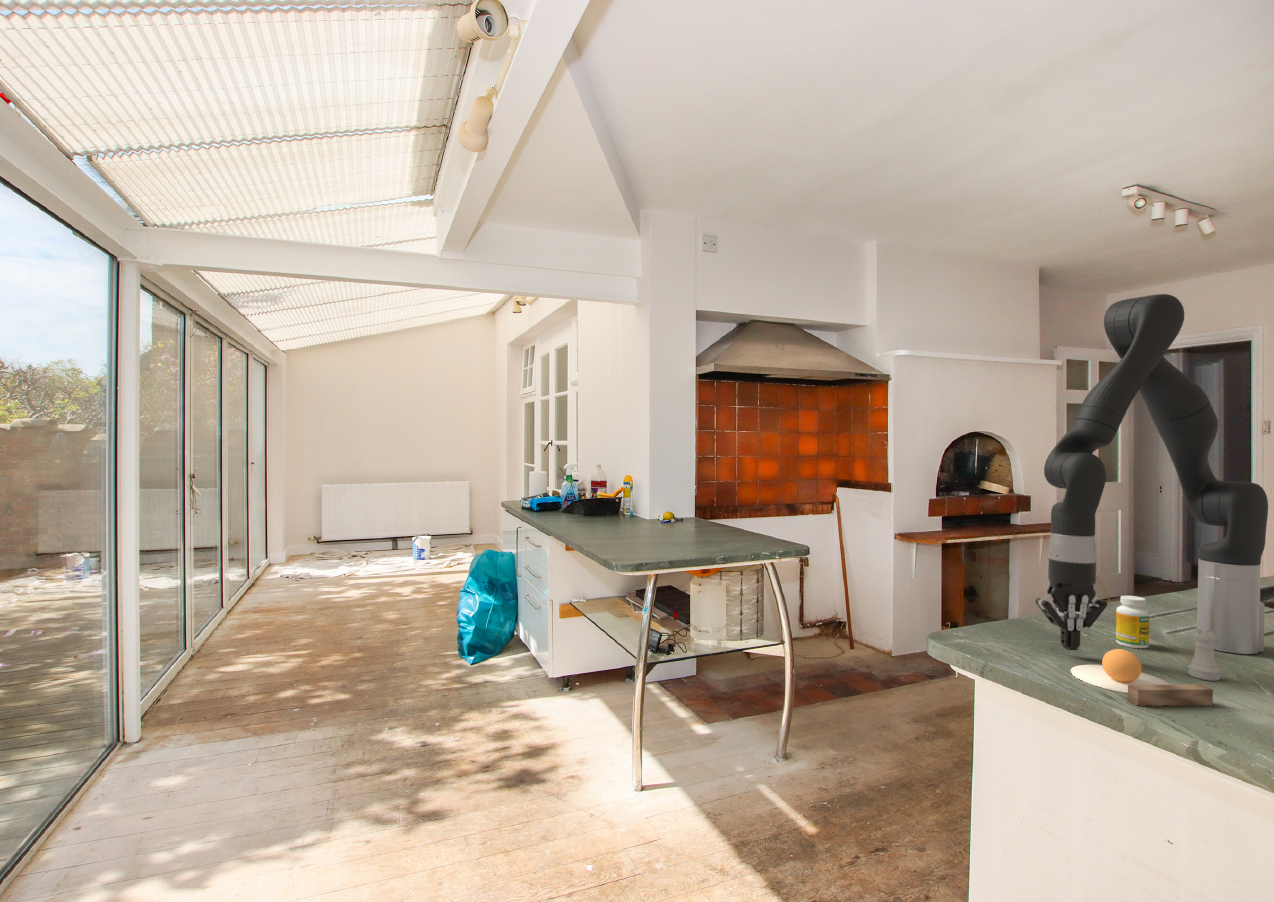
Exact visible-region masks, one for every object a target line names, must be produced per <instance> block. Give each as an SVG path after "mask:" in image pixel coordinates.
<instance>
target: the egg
mask: <svg viewBox="0 0 1274 902" xmlns="http://www.w3.org/2000/svg"><path fill="white" fill-rule="evenodd" d="M1101 665H1102V666H1103V669H1104V671H1105V672H1106V673H1107V675H1108V676H1109V677H1111V678H1112V679H1114V680H1116V681H1119V682H1132V681H1134V680H1136V679H1137V678H1138V677H1139V676H1140V674H1141V672H1142V664H1141V661H1140V660H1139V658H1138V656H1136V655H1135V654H1133V652H1132V651H1129V650H1125V649H1122V648H1114V649H1110V650H1109V651H1107V652H1106V653H1105V654H1104V655H1103V657H1102V663H1101Z"/></svg>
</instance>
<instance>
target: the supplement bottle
mask: <svg viewBox="0 0 1274 902" xmlns="http://www.w3.org/2000/svg"><path fill="white" fill-rule="evenodd" d="M1146 600H1147V599H1146V598H1145V597H1141V596H1136V595H1120V600H1119V602H1120V604H1121V605H1120V606H1117V607H1116V613H1115V614H1116V615H1115V616H1116V617H1115V622H1116V623H1115V629H1116V630H1115V642H1116V643H1117V644H1118V645H1120V646H1122V645H1123V646H1122V647H1126V648H1132V649H1138V648H1139V650H1142V648H1143V649H1147V648H1148V647H1149V646H1150V612H1149V610H1148V609H1147V608H1145V606H1146V603H1147V602H1146Z"/></svg>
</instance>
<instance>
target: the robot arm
mask: <svg viewBox="0 0 1274 902" xmlns="http://www.w3.org/2000/svg"><path fill="white" fill-rule="evenodd" d="M1184 322H1185V310H1184V306H1183V303H1182V302H1181V301H1180V299H1178V298H1177V297H1176V296H1174V295H1172V294H1168V293H1160V294H1159V293H1157V294H1151V295H1146V296H1145V295H1143V296H1138V297H1132V298H1131V297H1130V298H1126V299H1122V300H1119V301H1116V302H1114V303H1112V304H1111V305H1110V306H1109V307H1108V308H1107V310H1106V312H1105V313H1104V317H1103V326H1104V331H1105V334H1106V337H1107V340H1108V341H1109V343H1110V344H1111V346H1112V348H1113V349H1114V351H1115V352H1116V354H1117V355H1118V357H1119V358H1120V360H1119V361H1118V363H1117V364H1116V365H1115V366H1114V367H1113V368H1112V369H1111V370H1110V371H1109V372H1108V373H1106V375H1105V376H1103V378H1102V379H1101V380H1100V381H1098V383H1096V384H1095V385H1094V386H1093V387H1092V388H1091V390H1090V391H1089V392H1088V394H1087V395H1086V397H1085V398H1084V399H1083V401H1082V403H1081V405H1080V408H1079V410H1077V414H1076V416H1075V417H1074V420H1073V422H1072V425H1071V427H1069V429H1068V431H1067V432H1066V433H1064V435H1063V436H1062V437H1061V439H1060V440H1059V441H1058V442H1057V444H1056V445H1055V446H1054V447H1053V449H1051V451H1050V453H1049V454H1048V456H1047V458H1046V460H1045V463H1044V468H1043V473H1044V478H1045V480H1046V481H1047V483H1048V484H1049V485H1051V486H1053V487H1055V488H1057V489H1058V488H1059V489H1062V490H1063V489H1064V490H1065V494H1064V497H1063V500H1062V501H1059V502H1056V503H1055V504H1053V505H1052V508H1051V510H1050V511H1051V512H1050V536H1049V541H1048V573H1047V574H1048V575H1047V577H1048V581H1049V586H1048V588H1047V591H1046V593H1047V594H1046V595H1045V596H1043V597H1042V598H1040V597H1037V598H1036V599H1035V604H1036V606H1038V608H1039V609H1040V610H1041V612H1042V614H1043V615H1044V616H1045V617H1046V618H1047V620H1048V621H1049V623H1050V624H1052V625H1054V626H1057V627H1058V628H1059V629H1060V644H1061V646H1062V647H1063V649H1065V650H1067V651H1078V650H1079V647H1081V632H1082V630H1083V629H1084V628H1091V627H1092V626H1093V625H1094V623H1095V622H1096V621H1097V619H1099V617H1100V616H1101V614H1102V613H1103V612H1104V611H1105V609H1107V606H1108V602H1107V601H1105V600H1102V599H1101V598H1099V597H1098V596H1097V594H1096V593H1097V592H1096V590H1095V587H1094V586H1095V585H1096V583H1097V543H1096V513H1097V510H1098V507H1099V506H1100V505H1099V504H1100V503H1101V498H1102V497H1103V492H1104V489H1105V486H1106V481H1107V473H1106V472H1107V471H1106V468H1105V464H1104V462H1103V461H1102V459H1100V458H1099V457H1098V456H1097V455H1095V454H1094V453H1095V451H1097V450H1098V449H1101V448H1105V447H1107V446H1108V445H1110V444H1111V443H1112V442H1113V440H1114V438H1115V437H1116V434H1117V433H1118V430H1119V428H1120V426H1121V424H1122V423H1123V420H1124V418H1125V415H1126V414H1127V411H1128V409H1129V407H1130V406H1131V404H1132V402H1133V400H1134V398H1135V397H1136V395H1137V393H1138V392H1139V394H1140V395H1141V397H1142V399H1143V401H1144V403H1145V406H1146V407H1147V410H1148V413H1149V415H1150V418H1151V420H1152V422H1153V424H1154V427H1156V430H1157V432H1158V434H1159V435H1160V438H1161V439H1162V441H1163V444H1164V445H1165V448H1166V450H1167V452H1168V455H1169V457H1170V459H1171V462H1172V464H1173V466H1174V469H1175V471H1176V473H1177V478H1178V480H1179V484H1180V486H1181V489H1182V493H1183V496H1184V500H1185V502H1186V505H1187V507H1188V509H1189V511H1190V514H1191V515H1192V516H1193V518H1194V519H1195V520H1196V521H1198V522H1199V523H1202V524H1204V525H1208V526H1214V527H1224V528H1227V532H1226V535H1225V537H1224V538H1222V539H1220V540H1218V541H1214V542H1213V541H1212V542H1208V543H1203V544H1201V545H1200V546H1199V548H1198V562H1197V563H1198V567H1197V570H1198V571H1197V575H1198V576H1197V609H1196V611H1197V614H1196V630H1198V629H1200V630H1202V632H1205V630H1208V631H1209V633H1210V631H1212V632H1214V633H1215V637H1216V638H1217V640H1216V641H1215V642H1214V646H1215V648H1214V651H1215V650H1216V651H1220V652H1225V653H1226V652H1227V653H1231V654H1232V653H1233V654H1241V655H1255V654H1256V655H1257V654H1258V653H1259V652H1264V650H1265V649H1264V648H1265V647H1264V646H1265V612H1266V611H1265V610H1266V609H1265V606H1266V605H1265V602H1262V601H1261V569H1262V568H1261V566H1262V565H1261V562H1262V556H1263V553H1264V550H1265V547H1266V535H1267V525H1268V517H1269V516H1268V514H1269V501H1268V496H1267V493H1266V491H1265V490H1264V488H1263V487H1262V486H1261V485H1260V484H1258V483H1255V482H1251V481H1249V482H1248V481H1233V480H1219V479H1217V478H1216V476H1215V474H1214V473H1213V471H1212V469H1211V465H1210V463H1209V454H1210V451H1211V449H1212V446H1213V444H1214V442H1215V439H1216V437H1217V433H1218V430H1219V419H1218V417H1217V414H1216V412H1215V410H1214V407H1213V406H1212V404H1211V402H1210V399H1209V397H1208V395H1207V393H1206V392H1205V390H1203V388H1202V387H1201V386H1200V385H1199V384H1198V383H1196V382H1195V381H1194V380H1193V379H1192V378H1190V377H1189V376H1188V375H1186V374H1185V373H1184V372H1183V371H1181V370H1180V369H1178V367H1176V366H1174V364H1172V363H1171V362H1170V361H1169V360H1168V359H1167V358H1166V357H1165V356H1164V355H1165V354H1166V352H1167V351H1168V349H1169V348H1170V347H1171V345H1172V344H1173V343H1174V341H1175V339H1176V338H1177V337H1178V335H1179V333H1180V331H1181V330H1182V327H1183V324H1184Z"/></svg>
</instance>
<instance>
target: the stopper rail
mask: <svg viewBox="0 0 1274 902" xmlns="http://www.w3.org/2000/svg"><path fill="white" fill-rule="evenodd" d="M1213 694H1214V689H1213V688H1211V687H1208V686H1206V685H1204V684H1170V685H1128V693H1127V702H1129V703H1130V704H1133V705H1135V706H1137V705H1139V706H1138V707H1146V706H1145V705H1152V706H1151V707H1160V706H1163V705H1169V707H1170V706H1171V707H1172V706H1173V707H1175V706H1176V707H1178V706H1179V707H1180V706H1182V707H1183V706H1185V707H1186V706H1191V707H1192V706H1194V707H1195V706H1213V705H1214V704H1213V702H1214V696H1213ZM1155 705H1156V706H1155ZM1163 707H1164V706H1163Z"/></svg>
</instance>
